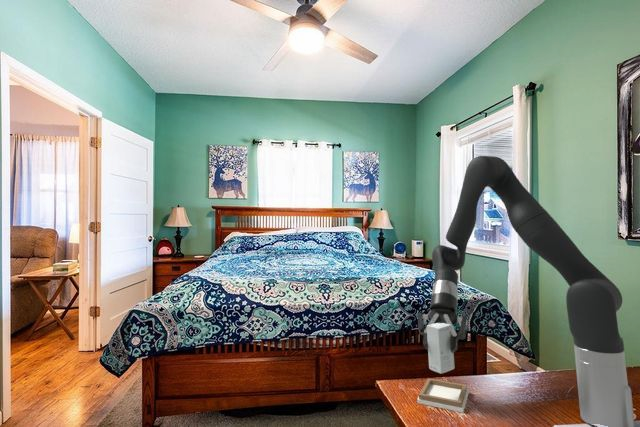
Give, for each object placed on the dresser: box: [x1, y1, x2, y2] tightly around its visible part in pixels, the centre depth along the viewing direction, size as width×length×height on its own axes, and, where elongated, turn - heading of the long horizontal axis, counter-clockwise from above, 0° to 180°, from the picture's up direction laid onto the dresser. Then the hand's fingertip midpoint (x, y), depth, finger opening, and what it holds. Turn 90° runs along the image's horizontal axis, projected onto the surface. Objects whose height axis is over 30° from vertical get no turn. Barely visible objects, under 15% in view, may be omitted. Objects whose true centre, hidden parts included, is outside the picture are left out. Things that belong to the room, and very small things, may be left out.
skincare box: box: [426, 323, 456, 375], centre depth 94 cm, size 6×4×12 cm
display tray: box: [417, 377, 470, 414], centre depth 93 cm, size 12×12×2 cm
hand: (439, 349), depth 92 cm, fingers closed on skincare box, 6 cm apart
